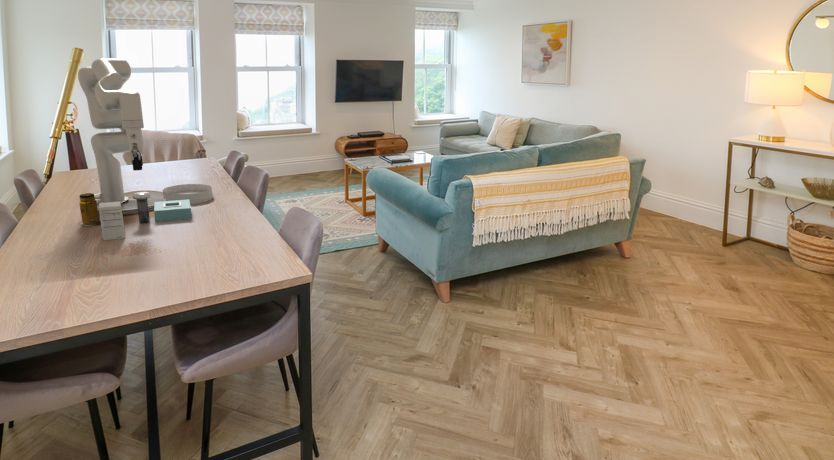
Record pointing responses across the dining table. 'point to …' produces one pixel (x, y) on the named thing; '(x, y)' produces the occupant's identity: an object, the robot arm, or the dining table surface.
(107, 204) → the supplement box
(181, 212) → the dock
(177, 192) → the dish
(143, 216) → the bolt
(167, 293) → the dining table surface
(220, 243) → the dining table surface
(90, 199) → the condiment
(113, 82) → the robot arm
